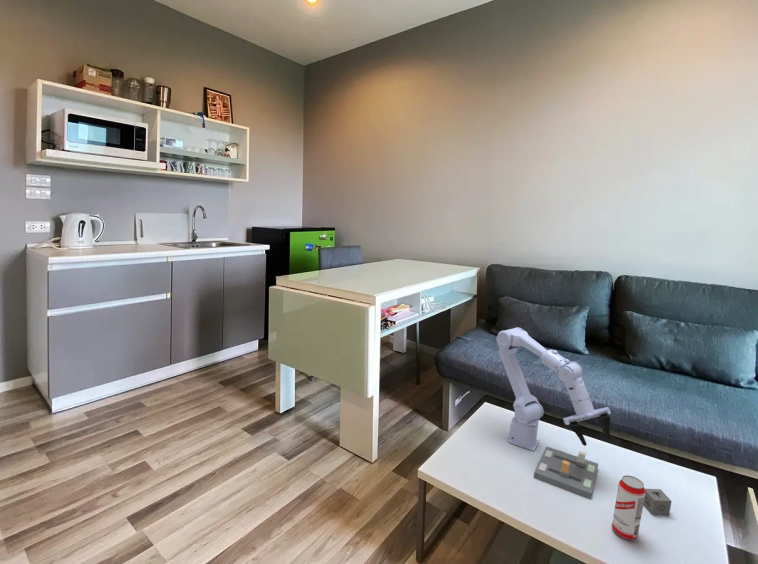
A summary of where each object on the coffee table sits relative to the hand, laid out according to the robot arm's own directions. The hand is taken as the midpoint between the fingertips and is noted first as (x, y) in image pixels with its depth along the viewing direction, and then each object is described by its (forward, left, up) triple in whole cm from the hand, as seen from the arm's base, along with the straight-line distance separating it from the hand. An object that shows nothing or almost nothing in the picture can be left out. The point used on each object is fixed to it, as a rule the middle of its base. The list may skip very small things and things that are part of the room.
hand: (596, 442), depth 131 cm
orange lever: (-7, -5, -12) cm, 15 cm away
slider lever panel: (-7, 0, -14) cm, 16 cm away
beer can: (+11, -18, -15) cm, 26 cm away
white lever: (-4, +4, -12) cm, 13 cm away
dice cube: (+18, -2, -15) cm, 23 cm away
